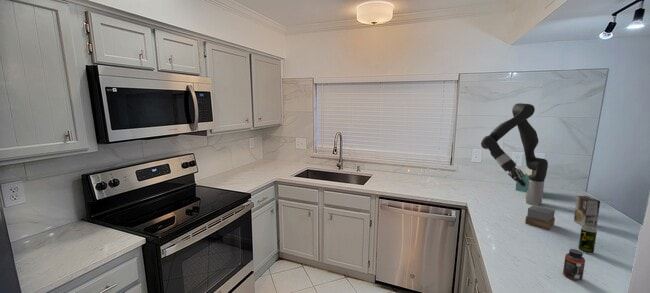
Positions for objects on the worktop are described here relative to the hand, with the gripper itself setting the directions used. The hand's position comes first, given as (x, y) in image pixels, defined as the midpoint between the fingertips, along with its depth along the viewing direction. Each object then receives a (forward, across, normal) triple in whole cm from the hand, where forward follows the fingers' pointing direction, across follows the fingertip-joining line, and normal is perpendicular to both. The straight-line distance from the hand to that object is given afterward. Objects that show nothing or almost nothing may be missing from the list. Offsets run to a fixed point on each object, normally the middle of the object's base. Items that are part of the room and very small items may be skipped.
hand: (526, 184), depth 165 cm
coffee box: (+33, +20, -2) cm, 39 cm away
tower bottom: (+22, -2, +9) cm, 24 cm away
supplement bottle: (+39, -51, -8) cm, 65 cm away
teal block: (+2, 0, +4) cm, 5 cm away
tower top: (+19, -2, +6) cm, 20 cm away
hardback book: (+6, +62, +26) cm, 67 cm away
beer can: (+38, -20, -7) cm, 44 cm away
